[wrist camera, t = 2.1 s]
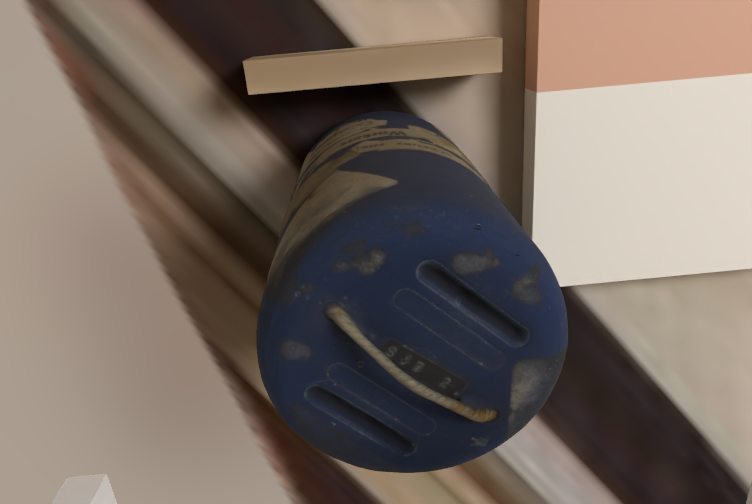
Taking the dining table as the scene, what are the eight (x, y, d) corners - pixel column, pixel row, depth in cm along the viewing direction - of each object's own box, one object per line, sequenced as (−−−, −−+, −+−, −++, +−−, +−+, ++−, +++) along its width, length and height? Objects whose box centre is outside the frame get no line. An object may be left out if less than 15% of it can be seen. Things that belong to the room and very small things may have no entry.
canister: (401, 68, 29) (475, 136, 12) (497, 206, 32) (658, 407, 16) (261, 177, 31) (162, 364, 14) (365, 297, 34) (383, 564, 17)
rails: (488, 303, 34) (500, 327, 32) (295, 321, 34) (290, 348, 32) (487, 35, 28) (502, 38, 26) (253, 57, 28) (242, 61, 26)
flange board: (780, 250, 34) (864, 295, 29) (520, 274, 34) (554, 324, 28) (878, -192, 25) (1025, -250, 20) (530, -163, 25) (582, -213, 20)
